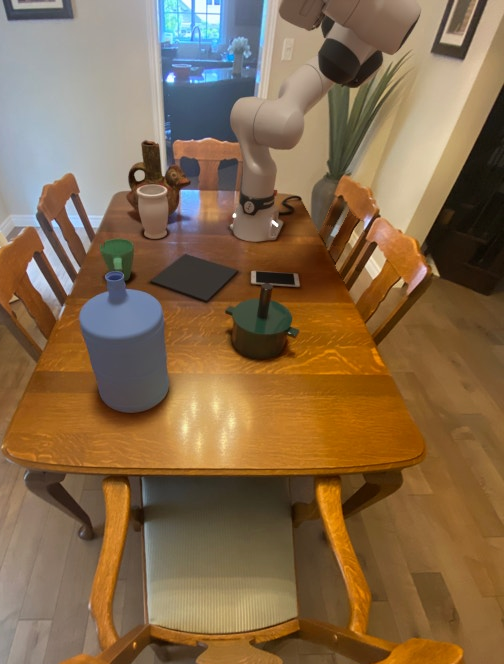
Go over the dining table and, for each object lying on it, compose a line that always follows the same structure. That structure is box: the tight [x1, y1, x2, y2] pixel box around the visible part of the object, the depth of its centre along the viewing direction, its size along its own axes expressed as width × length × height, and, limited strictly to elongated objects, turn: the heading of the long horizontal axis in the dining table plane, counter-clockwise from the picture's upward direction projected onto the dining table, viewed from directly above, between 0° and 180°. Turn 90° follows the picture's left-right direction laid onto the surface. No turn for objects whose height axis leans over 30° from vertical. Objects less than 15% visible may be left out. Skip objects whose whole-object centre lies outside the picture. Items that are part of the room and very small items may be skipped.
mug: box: [99, 238, 135, 282], centre depth 109 cm, size 15×10×10 cm
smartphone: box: [250, 270, 301, 288], centre depth 114 cm, size 8×1×15 cm
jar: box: [137, 185, 169, 240], centre depth 128 cm, size 11×10×15 cm
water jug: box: [78, 271, 170, 414], centre depth 72 cm, size 16×16×28 cm
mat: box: [150, 253, 239, 303], centre depth 114 cm, size 20×20×1 cm
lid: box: [231, 283, 293, 336], centre depth 86 cm, size 15×15×9 cm
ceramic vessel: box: [125, 139, 192, 218], centre depth 134 cm, size 17×26×25 cm, turn 77°
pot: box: [224, 305, 301, 360], centre depth 92 cm, size 14×19×8 cm
